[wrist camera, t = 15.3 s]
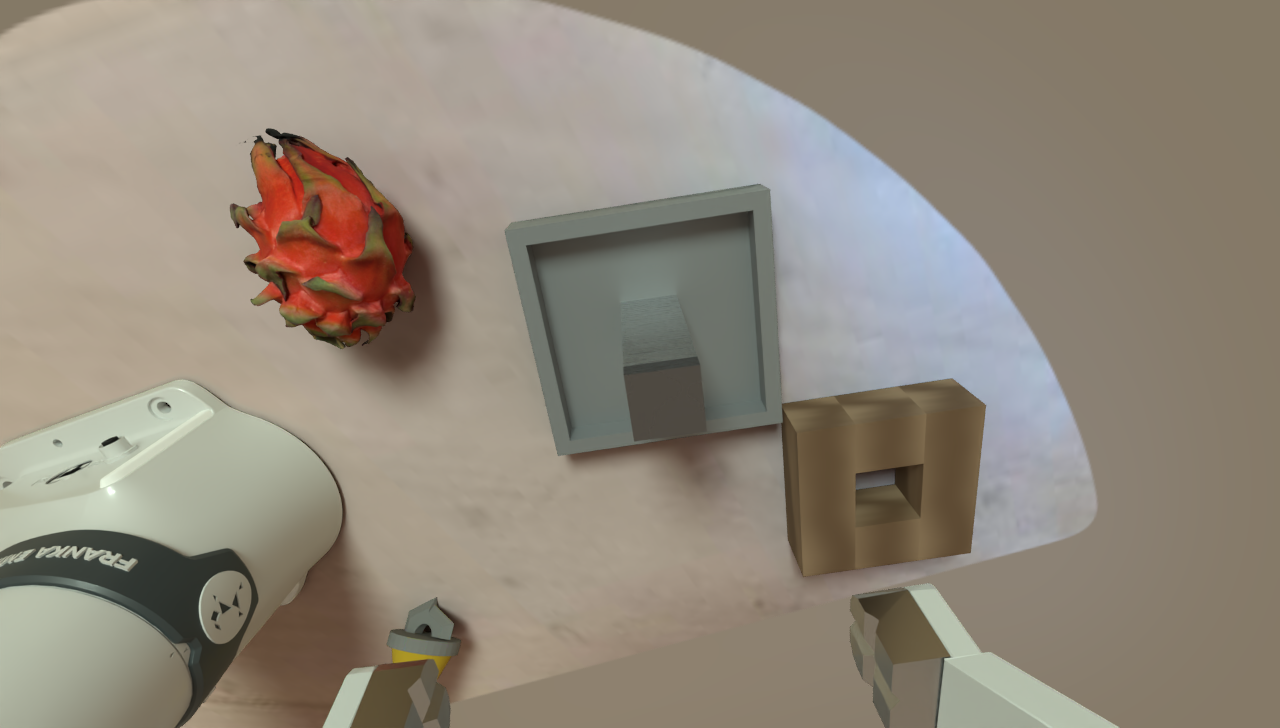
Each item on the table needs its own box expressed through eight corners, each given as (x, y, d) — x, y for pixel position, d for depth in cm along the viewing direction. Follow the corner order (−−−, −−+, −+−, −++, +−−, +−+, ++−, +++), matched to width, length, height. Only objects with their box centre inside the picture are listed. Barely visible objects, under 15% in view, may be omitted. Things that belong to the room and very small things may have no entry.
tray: (561, 436, 41) (558, 455, 39) (511, 222, 35) (504, 230, 33) (773, 405, 41) (782, 422, 39) (759, 184, 35) (770, 189, 33)
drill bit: (484, 604, 48) (450, 745, 44) (433, 593, 50) (397, 727, 46) (440, 601, 43) (398, 758, 40) (387, 589, 45) (343, 737, 42)
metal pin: (628, 353, 38) (634, 441, 28) (620, 302, 37) (623, 375, 27) (682, 345, 38) (706, 431, 28) (676, 294, 37) (700, 364, 27)
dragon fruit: (394, 328, 39) (328, 143, 36) (473, 319, 34) (404, 102, 31) (261, 374, 33) (167, 153, 30) (332, 371, 28) (228, 104, 25)
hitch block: (787, 539, 46) (803, 576, 42) (780, 404, 41) (796, 433, 37) (941, 517, 45) (970, 553, 42) (952, 378, 41) (985, 405, 37)
